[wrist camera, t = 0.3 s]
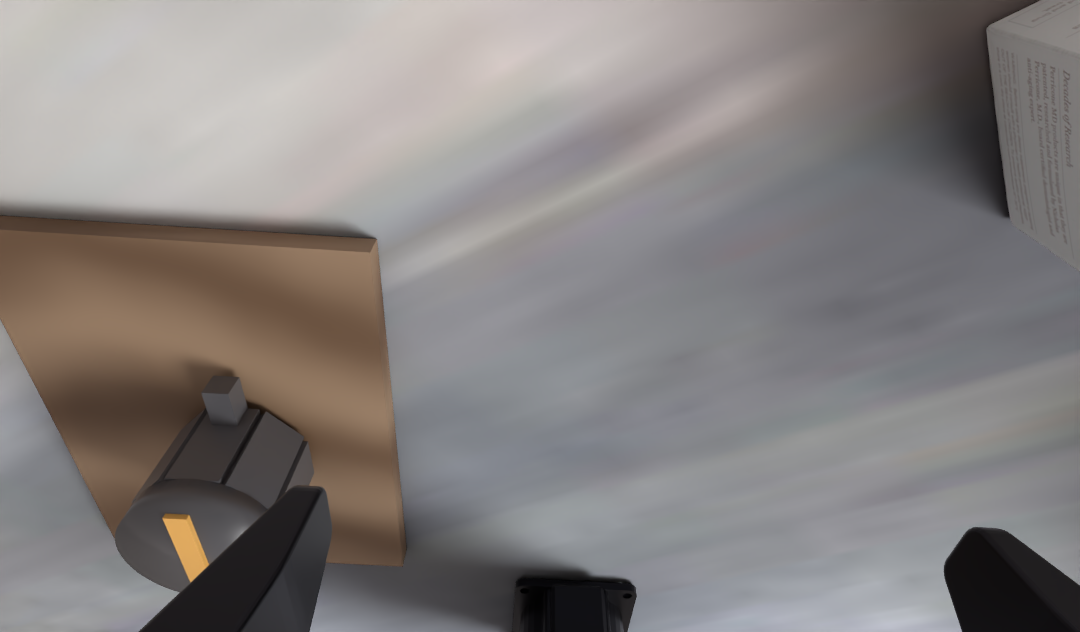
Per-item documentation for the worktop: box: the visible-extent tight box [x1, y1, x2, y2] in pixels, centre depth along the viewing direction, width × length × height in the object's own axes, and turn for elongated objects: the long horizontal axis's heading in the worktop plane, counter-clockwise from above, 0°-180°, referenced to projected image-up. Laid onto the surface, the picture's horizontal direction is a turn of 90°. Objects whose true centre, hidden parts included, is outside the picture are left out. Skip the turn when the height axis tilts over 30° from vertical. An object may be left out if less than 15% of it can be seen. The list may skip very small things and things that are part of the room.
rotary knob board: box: [0, 216, 407, 567], centre depth 25 cm, size 18×14×5 cm
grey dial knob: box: [115, 376, 314, 592], centre depth 24 cm, size 7×5×5 cm
